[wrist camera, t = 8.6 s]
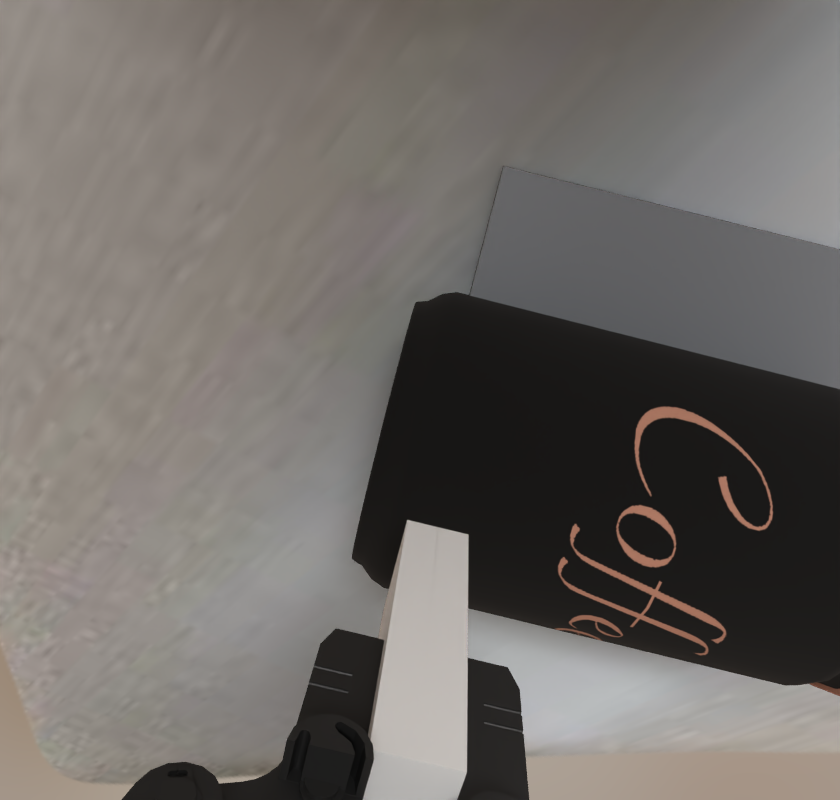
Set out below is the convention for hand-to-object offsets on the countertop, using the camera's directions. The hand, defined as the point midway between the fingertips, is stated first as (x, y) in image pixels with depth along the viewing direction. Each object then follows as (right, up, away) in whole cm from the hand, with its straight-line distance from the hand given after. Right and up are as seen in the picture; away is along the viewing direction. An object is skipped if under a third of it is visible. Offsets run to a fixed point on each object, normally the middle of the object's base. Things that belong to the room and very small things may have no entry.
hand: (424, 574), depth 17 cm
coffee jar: (-2, +3, +8) cm, 9 cm away
